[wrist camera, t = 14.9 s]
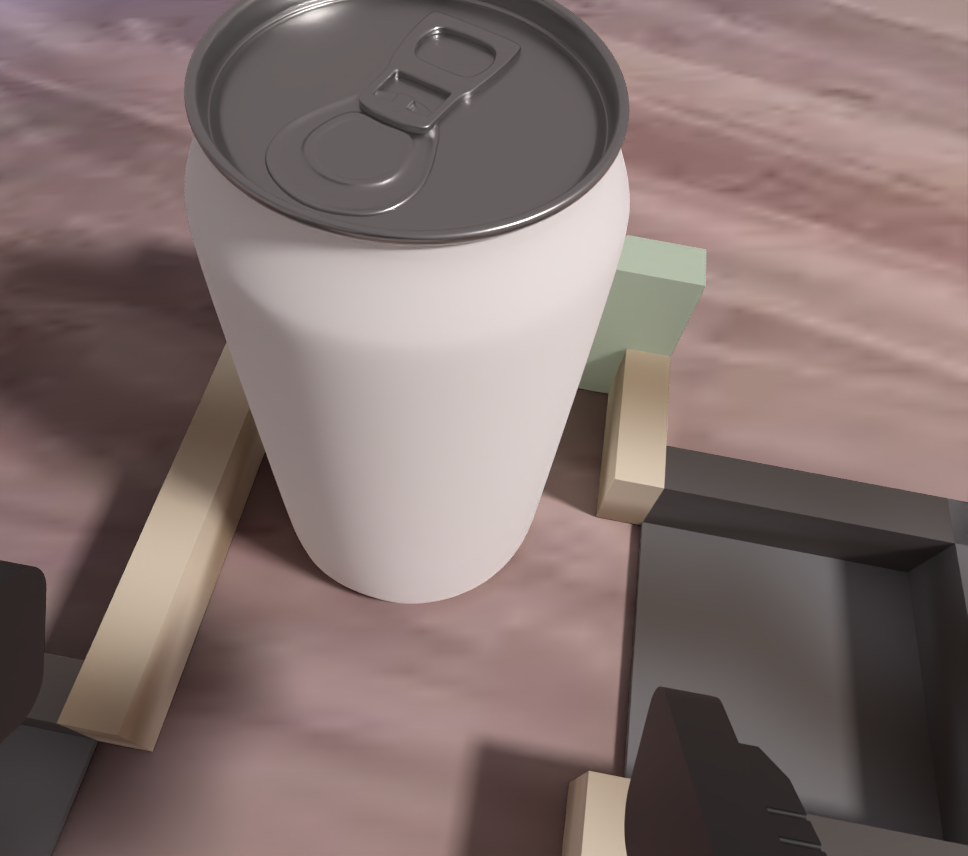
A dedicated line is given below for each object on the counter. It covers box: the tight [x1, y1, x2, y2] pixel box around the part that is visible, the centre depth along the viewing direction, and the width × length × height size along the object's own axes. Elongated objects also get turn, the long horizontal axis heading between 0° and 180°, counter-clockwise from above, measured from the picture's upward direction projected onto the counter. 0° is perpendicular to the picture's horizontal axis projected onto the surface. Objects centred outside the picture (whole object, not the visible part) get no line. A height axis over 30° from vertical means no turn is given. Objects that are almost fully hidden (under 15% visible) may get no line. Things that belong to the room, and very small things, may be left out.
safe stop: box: [578, 235, 706, 394], centre depth 20 cm, size 1×11×5 cm, turn 81°
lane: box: [0, 342, 968, 856], centre depth 15 cm, size 24×28×2 cm
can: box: [184, 0, 630, 603], centre depth 15 cm, size 6×6×12 cm
